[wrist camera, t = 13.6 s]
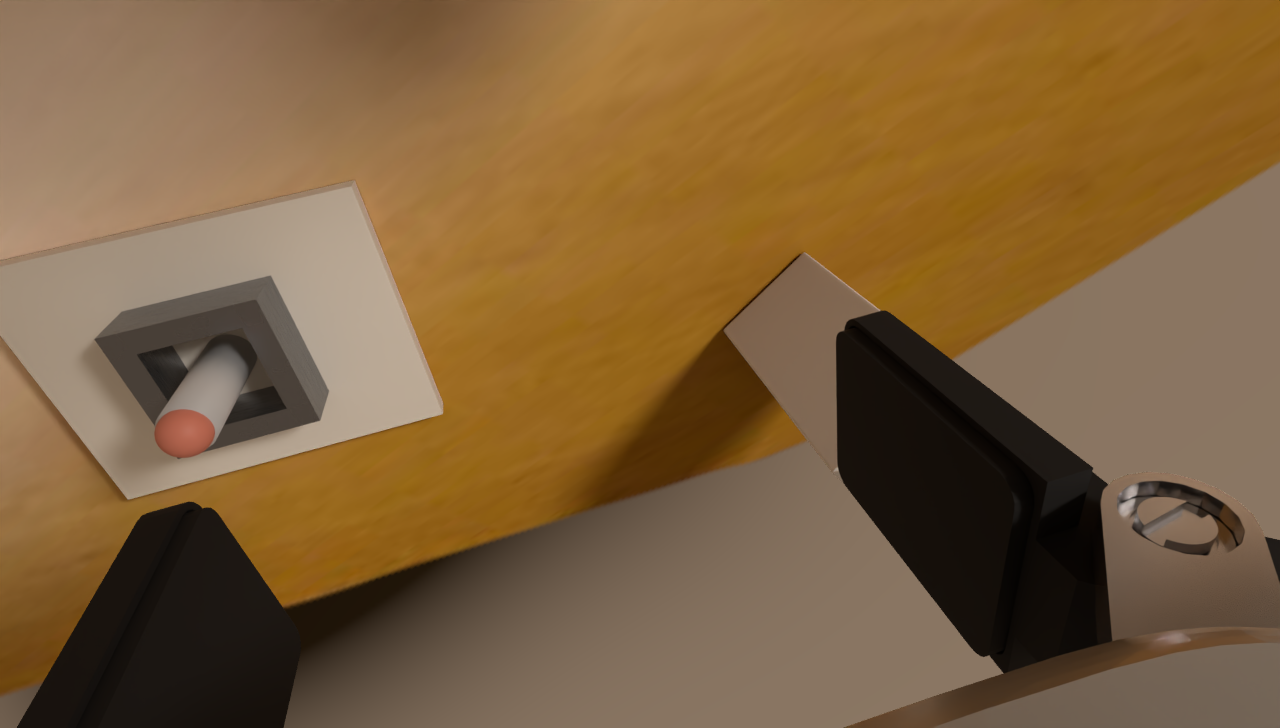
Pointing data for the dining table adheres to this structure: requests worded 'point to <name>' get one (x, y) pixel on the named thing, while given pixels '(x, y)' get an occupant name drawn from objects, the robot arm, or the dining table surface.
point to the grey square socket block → (254, 306)
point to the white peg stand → (223, 363)
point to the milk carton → (800, 346)
